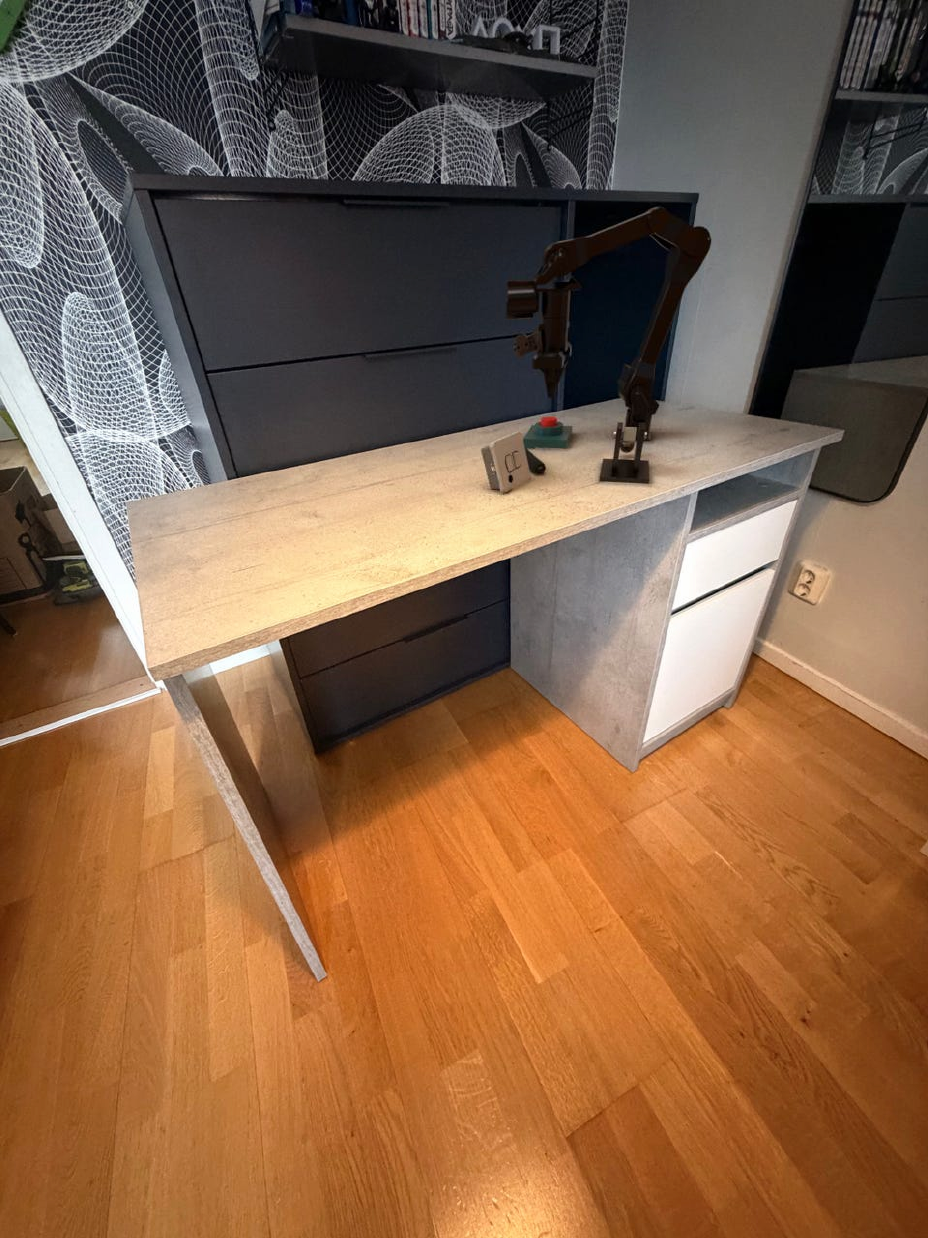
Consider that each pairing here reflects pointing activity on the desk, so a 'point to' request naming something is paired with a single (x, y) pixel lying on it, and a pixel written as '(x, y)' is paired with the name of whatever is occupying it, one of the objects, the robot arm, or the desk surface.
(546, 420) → the button
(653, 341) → the robot arm
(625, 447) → the lever
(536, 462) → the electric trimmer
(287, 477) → the desk surface
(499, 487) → the electrical switch
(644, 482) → the bracket
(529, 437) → the button block
